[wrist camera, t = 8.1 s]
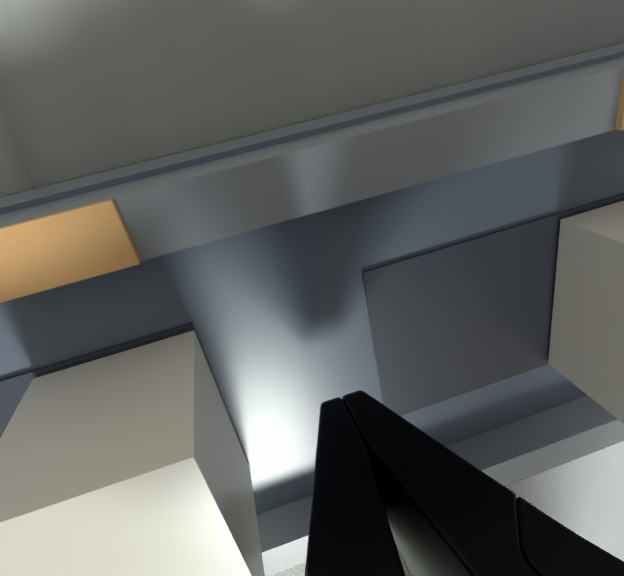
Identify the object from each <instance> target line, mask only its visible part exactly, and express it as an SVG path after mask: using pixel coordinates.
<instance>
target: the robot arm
mask: <svg viewBox="0 0 624 576" xmlns="http://www.w3.org/2000/svg"><path fill="white" fill-rule="evenodd" d="M395 543H396V544H395ZM396 545H397V547H398V549H399V551H400V553H401V555H402V557H403V559H404V561H405V563H406V565H407V567H408V569H409V571H410V572H411V574H412V576H624V562H623V561H622V560H620V559H618V558H616V557H615V556H613V555H611V554H610V553H608V552H606V551H604V550H603V549H601V548H599V547H598V546H596V545H594V544H592V543H591V542H589V541H587V540H586V539H584V538H582V537H581V536H579V535H577V534H576V533H574V532H573V531H571V530H569V529H568V528H566V527H565V526H563V525H562V524H560V523H559V522H557V521H556V520H554V519H552V518H551V517H549V516H548V515H546V514H545V513H543V512H542V511H540V510H539V509H537V508H536V507H534V506H533V505H531V504H530V503H528V502H527V501H525V500H524V499H523V498H521V497H518V498H517V499H516V495H515V493H513V492H512V491H510V490H509V489H507V488H506V487H504V486H503V485H502V484H500V483H499V482H497V481H496V480H494V479H493V478H491V477H490V476H488V475H487V474H485V473H484V472H482V471H481V470H479V469H478V468H476V467H475V466H473V465H472V464H470V463H469V462H468V461H466V460H465V459H463V458H462V457H460V456H459V455H457V454H456V453H454V452H453V451H451V450H450V449H448V448H447V447H445V446H444V445H442V444H441V443H439V442H438V441H437V440H435V439H434V438H432V437H431V436H429V435H428V434H426V433H425V432H423V431H422V430H420V429H419V428H417V427H416V426H414V425H413V424H411V423H410V422H408V421H407V420H405V419H404V418H403V417H401V416H400V415H398V414H397V413H395V412H394V411H392V410H391V409H389V408H388V407H386V406H385V405H383V404H382V403H380V402H379V401H377V400H376V399H374V398H373V397H372V396H370V395H369V394H367V393H366V392H364V391H362V390H358V391H355V392H352V393H349V394H346V395H344V396H343V397H342V399H341V398H340V397H337V398H334V399H331V400H328V401H325V402H322V403H321V406H320V415H319V426H318V437H317V448H316V459H315V469H314V480H313V491H312V502H311V513H310V524H309V535H308V546H307V557H306V568H305V576H405V574H404V571H403V567H402V564H401V561H400V557H399V554H398V551H397V547H396Z"/></svg>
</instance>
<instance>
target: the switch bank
mask: <svg viewBox="0 0 624 576" xmlns="http://www.w3.org/2000/svg"><path fill="white" fill-rule="evenodd" d="M620 201H624V43H620V44H616V45H612V46H607V47H603V48H599V49H595V50H591V51H587V52H583V53H579V54H575V55H571V56H567V57H563V58H559V59H555V60H551V61H547V62H543V63H539V64H535V65H531V66H527V67H523V68H519V69H515V70H511V71H507V72H503V73H499V74H495V75H491V76H487V77H483V78H479V79H475V80H471V81H467V82H462V83H458V84H454V85H450V86H446V87H442V88H438V89H434V90H430V91H426V92H422V93H418V94H414V95H410V96H406V97H402V98H398V99H394V100H390V101H386V102H382V103H378V104H374V105H370V106H366V107H362V108H358V109H354V110H350V111H346V112H342V113H338V114H334V115H330V116H326V117H322V118H317V119H313V120H309V121H305V122H301V123H297V124H293V125H289V126H285V127H281V128H277V129H273V130H269V131H265V132H261V133H257V134H253V135H249V136H245V137H241V138H237V139H233V140H229V141H225V142H221V143H217V144H213V145H209V146H205V147H201V148H197V149H193V150H189V151H185V152H181V153H177V154H172V155H168V156H164V157H160V158H156V159H152V160H148V161H144V162H140V163H136V164H132V165H128V166H124V167H120V168H116V169H112V170H108V171H104V172H100V173H96V174H92V175H88V176H84V177H80V178H76V179H72V180H68V181H64V182H60V183H56V184H52V185H48V186H44V187H40V188H36V189H32V190H27V191H23V192H19V193H15V194H11V195H7V196H3V197H0V438H1V436H2V434H3V432H4V430H5V429H6V427H7V425H8V423H9V421H10V420H11V418H12V416H13V414H14V412H15V410H16V409H17V407H18V405H19V403H20V401H21V399H22V398H23V396H24V394H25V392H26V390H27V389H28V387H29V385H30V383H31V381H32V379H34V378H37V377H40V376H44V375H47V374H50V373H54V372H57V371H60V370H64V369H67V368H70V367H74V366H77V365H80V364H84V363H87V362H90V361H93V360H97V359H100V358H103V357H107V356H110V355H113V354H117V353H120V352H123V351H127V350H130V349H133V348H137V347H140V346H143V345H147V344H150V343H153V342H156V341H160V340H163V339H166V338H170V337H173V336H176V335H180V334H183V333H186V332H190V331H193V330H194V331H195V333H196V336H197V338H198V341H199V343H200V346H201V348H202V351H203V353H204V356H205V358H206V360H207V363H208V365H209V368H210V370H211V373H212V375H213V378H214V380H215V383H216V385H217V388H218V390H219V393H220V395H221V398H222V400H223V403H224V405H225V408H226V410H227V413H228V415H229V418H230V420H231V422H232V425H233V427H234V430H235V432H236V435H237V437H238V440H239V442H240V445H241V447H242V450H243V452H244V455H245V457H246V460H247V462H248V465H249V467H250V473H251V480H252V487H253V495H254V502H255V509H256V516H257V523H258V530H259V537H260V544H261V552H262V559H263V566H264V573H265V576H271V575H274V574H277V573H279V572H282V571H285V570H287V569H290V568H292V567H295V566H298V565H300V564H303V563H305V562H306V557H307V546H308V535H309V524H310V513H311V502H312V491H313V480H314V469H315V459H316V448H317V437H318V426H319V415H320V406H321V403H322V402H325V401H328V400H331V399H334V398H337V397H340V398H341V399H342V397H343V396H344V395H346V394H349V393H352V392H355V391H358V390H362V391H364V392H366V393H367V394H369V395H370V396H372V397H373V398H374V399H376V400H377V401H379V402H380V403H382V404H383V405H385V406H386V407H388V408H389V409H391V410H392V411H394V412H395V413H397V414H398V415H400V416H401V417H403V418H404V419H405V420H407V421H408V422H410V423H411V424H413V425H414V426H416V427H417V428H419V429H420V430H422V431H423V432H425V433H426V434H428V435H429V436H431V437H432V438H434V439H435V440H437V441H438V442H439V443H441V444H442V445H444V446H445V447H447V448H448V449H450V450H451V451H453V452H454V453H456V454H457V455H459V456H460V457H462V458H463V459H465V460H466V461H468V462H469V463H470V464H472V465H473V466H475V467H476V468H478V469H479V470H481V471H482V472H484V473H485V474H487V475H488V476H490V477H491V478H493V479H494V480H496V481H497V482H499V483H500V484H502V485H503V486H506V485H509V484H512V483H514V482H517V481H520V480H522V479H525V478H527V477H530V476H533V475H535V474H538V473H540V472H543V471H546V470H548V469H551V468H553V467H556V466H559V465H561V464H564V463H567V462H569V461H572V460H574V459H577V458H580V457H582V456H585V455H587V454H590V453H593V452H595V451H598V450H600V449H603V448H606V447H608V446H611V445H614V444H616V443H619V442H621V441H624V424H623V423H622V422H621V421H619V420H618V419H617V418H616V417H614V416H613V415H612V414H611V413H609V412H608V411H607V410H606V409H604V408H603V407H602V406H600V405H599V404H598V403H597V402H595V401H594V400H593V399H592V398H590V397H589V396H588V395H587V394H585V393H584V392H583V391H582V390H580V389H579V388H578V387H577V386H575V385H574V384H573V383H572V382H570V381H569V380H568V379H567V378H565V377H564V376H563V375H562V374H560V373H559V372H558V371H557V370H555V369H554V368H553V367H552V366H550V365H549V364H548V360H549V348H550V336H551V325H552V313H553V301H554V290H555V278H556V266H557V255H558V243H559V232H560V220H561V219H564V218H567V217H571V216H574V215H577V214H581V213H584V212H587V211H591V210H594V209H597V208H601V207H604V206H607V205H610V204H614V203H617V202H620Z"/></svg>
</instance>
